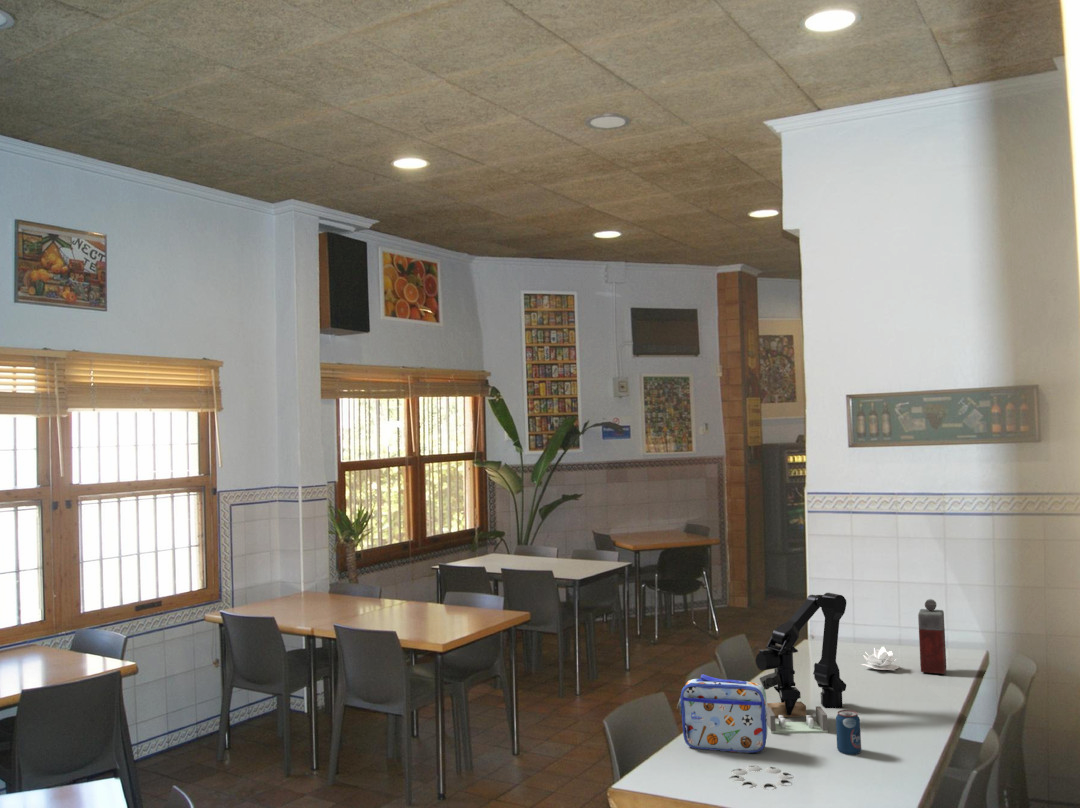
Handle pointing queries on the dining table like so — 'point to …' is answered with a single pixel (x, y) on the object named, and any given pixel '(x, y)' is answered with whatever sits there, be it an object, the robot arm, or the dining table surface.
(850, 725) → the soda can
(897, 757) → the dining table surface
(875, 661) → the lotus flower
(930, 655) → the red decanter bottle
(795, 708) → the shelf block
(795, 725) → the peg cradle
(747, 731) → the lunch box
